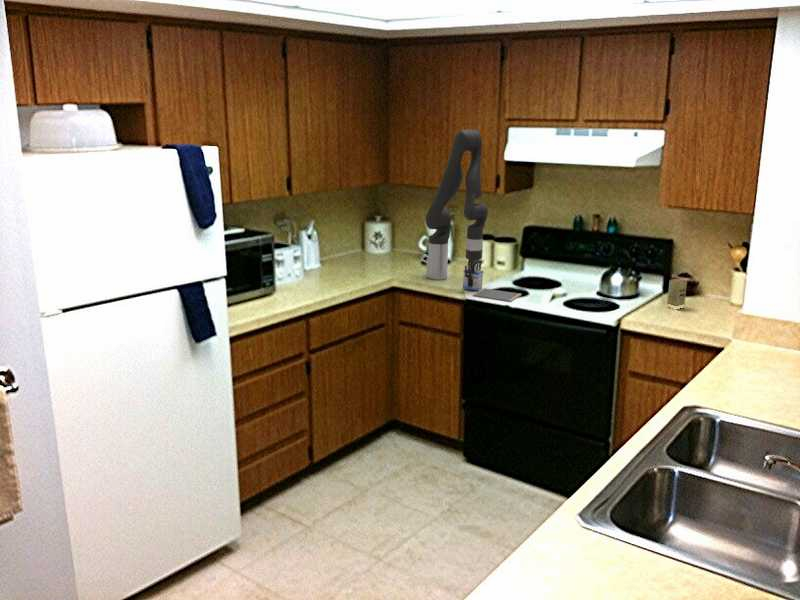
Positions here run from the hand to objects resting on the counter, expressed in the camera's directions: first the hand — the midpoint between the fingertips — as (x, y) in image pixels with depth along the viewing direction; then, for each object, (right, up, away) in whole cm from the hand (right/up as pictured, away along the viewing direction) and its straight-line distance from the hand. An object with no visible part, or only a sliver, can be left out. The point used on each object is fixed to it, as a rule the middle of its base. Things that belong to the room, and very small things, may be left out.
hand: (472, 284), depth 343 cm
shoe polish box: (+84, -10, -23) cm, 87 cm away
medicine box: (0, -2, +1) cm, 2 cm away
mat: (+10, -5, -8) cm, 14 cm away
